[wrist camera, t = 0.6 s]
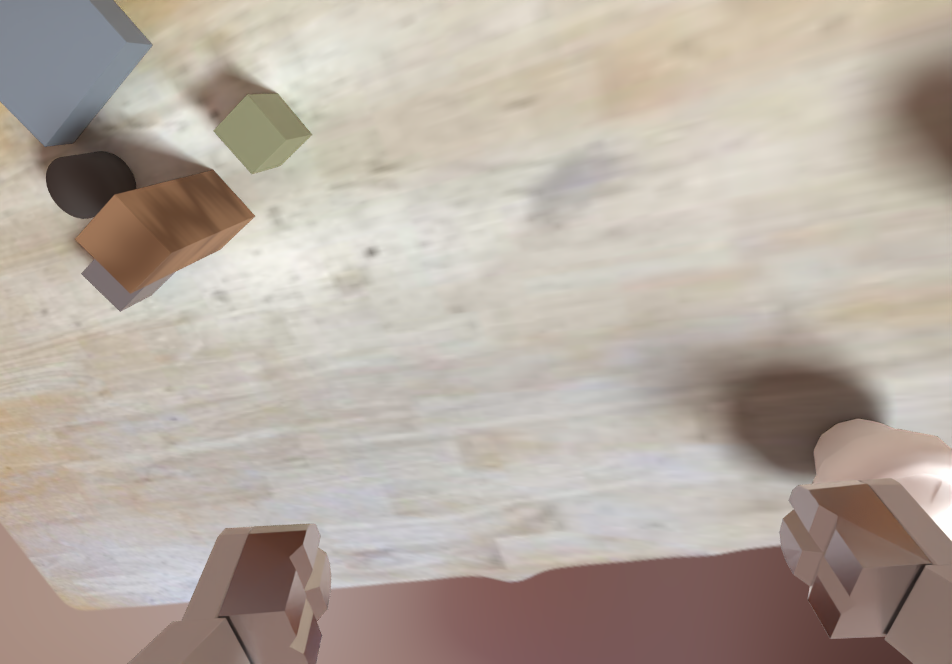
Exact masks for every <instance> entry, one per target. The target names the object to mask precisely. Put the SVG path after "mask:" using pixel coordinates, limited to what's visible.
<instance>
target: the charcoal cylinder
mask: <svg viewBox="0 0 952 664" xmlns="http://www.w3.org/2000/svg"><path fill="white" fill-rule="evenodd" d="M46 183H47V187H48V191H49V193H50V195H51V197H52V199H53V200H54V201H55V203H56V204H57V205H58V206H59V207H60V208H61V209H62V210H63V211H65V212H66V213H68V214H69V215H71V216H74V217H77V218H82V219H87V218H91V217H95V216H96V215H97V214H98V213H99V212H100V210H101V209H102V208H103V207H104V206H105V205H106V204H107V203H108V201H109V200H110V199H111V198H112V197H113V196H114V195H115V194H119V193H123V192H127V191H131V190H135V189H136V182H135V179H134V176H133V174H132V172H131V170H130V168H129V167H128V166H127V165H126V163H125V162H124V161H123V160H121V159H120V158H119V157H117V156H115V155H114V154H111V153H108V152H94V153H87V154H80V155H73V156H66V157H60V158H57V159H55V160H54V161H53V162H52V163H51V164H50V165H49V167H48V169H47V173H46Z"/></svg>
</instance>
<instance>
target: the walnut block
mask: <svg viewBox="0 0 952 664" xmlns="http://www.w3.org/2000/svg"><path fill="white" fill-rule="evenodd" d="M254 217H255V215H254V214H253V213H252V212H251V211H250V210H249V209H248V208H247V206H246V205H245V204H244V203H243V202H242V201H241V200H240V199H239V198H238V197H237V195H236V194H235V193H234V192H233V191H232V190H231V189H230V188H229V187H228V186H227V184H226V183H225V182H224V181H223V180H222V179H221V178H220V177H219V176H218V174H217V173H216V172H215V171H214V170H211V171H207V172H203V173H199V174H195V175H191V176H187V177H183V178H179V179H175V180H171V181H167V182H163V183H159V184H155V185H151V186H147V187H143V188H139V189H135V190H131V191H127V192H123V193H119V194H115V195H114V196H113V197H112V198H111V199H110V200H109V201H108V203H107V204H106V205H105V206H104V207H103V208H102V209H101V210H100V212H99V213H98V214H97V215H96V216H95V217H94V218H93V219H92V221H91V222H90V223H89V224H88V225H87V226H86V227H85V228H84V230H83V231H82V232H81V233H80V234H79V235H78V236H77V238H76V239H75V240H76V241H77V242H78V243H79V244H80V245H81V246H82V247H83V248H84V249H85V250H86V251H87V252H88V253H89V254H90V255H91V256H92V257H93V258H94V259H95V260H96V261H97V262H99V263H100V264H101V265H102V266H103V267H104V268H105V269H106V270H107V271H108V272H109V273H110V274H111V275H112V276H113V277H114V278H115V279H116V280H117V281H118V282H119V283H120V284H121V285H122V286H123V287H124V288H125V289H126V290H127V291H128V292H129V293H130V294H131V293H133V292H135V291H137V290H139V289H141V288H143V287H145V286H147V285H149V284H151V283H153V282H155V281H157V280H160V279H162V278H164V277H166V276H168V275H170V274H172V273H174V272H176V271H178V270H180V269H182V268H184V267H186V266H188V265H190V264H192V263H194V262H196V261H198V260H200V259H202V258H204V257H206V256H208V255H210V254H212V253H214V252H216V251H218V250H220V249H221V248H222V247H223V246H224V245H226V244H227V243H228V242H229V241H230V240H231V239H232V238H233V237H234V236H235V235H236V234H237V233H238V232H239V231H240V230H241V229H242V228H243V227H244V226H245V225H246V224H247V223H249V222H250V221H251V220H252V219H253V218H254Z"/></svg>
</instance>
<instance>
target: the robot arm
mask: <svg viewBox="0 0 952 664" xmlns="http://www.w3.org/2000/svg"><path fill="white" fill-rule="evenodd" d="M789 502H790V504H791V505H792V507H793V508H794V510H793V511H791V512H790V513H789V514H788V515H786V516H785V517H784V518H783V520H782V524H781V528H780V541H781V548H782V551H783V554H784V557H785V560H786V562H787V564H788V565H789V567H790V569H791V571H792V573H793V575H795V576H796V577H798V578H799V579H800V580H802V581H803V582H804V583H806V584H807V585H809V586H810V589H809V595H808V601H809V603H810V604H811V606H812V608H813V610H814V612H815V613H816V615H817V617H818V618H819V620H820V622H821V624H822V625H823V627H824V629H825V631H826V632H827V634H828V636H829V638H830V639H839V638H861V637H881V636H882V637H883V636H886V637H885V640H886V641H887V642H888V643H890V644H891V645H892V646H893V647H894V648H896V649H897V650H898V651H899V652H900V653H901V654H903V655H904V656H905V657H906V658H908V659H909V660H910V661H911V662H912V663H914V664H952V541H951V540H950V539H949V537H948V536H947V535H946V534H945V533H944V532H943V531H942V530H941V528H940V527H939V526H938V525H937V524H936V523H935V522H934V521H933V519H932V518H931V517H930V516H929V515H928V514H927V513H926V512H925V510H924V509H923V508H922V507H921V506H920V505H919V504H918V503H917V501H916V500H915V499H914V498H913V497H912V496H911V495H910V494H909V492H908V491H907V490H906V489H905V488H904V487H903V486H902V485H901V484H900V483H899V482H897V481H896V480H894V479H892V478H882V479H869V480H859V481H856V480H849V481H838V482H827V483H816V484H805V485H798V486H796V487H795V488H794V489H793V490H792V492H791V495H790V498H789ZM320 537H321V536H320V533H319V531H318V528H317V526H316V524H293V525H273V526H254V527H239V528H225V529H224V531H223V532H222V533H221V534H220V535H219V536H218V538H217V540H216V542H215V544H214V547H213V549H212V551H211V554H210V556H209V558H208V561H207V563H206V565H205V568H204V570H203V572H202V575H201V577H200V579H199V582H198V584H197V586H196V589H195V591H194V593H193V595H192V598H191V600H190V602H189V605H188V607H187V609H186V612H185V614H184V617H183V619H182V621H173V622H172V623H170V625H168V626H167V627H166V628H165V629H164V630H163V631H162V632H161V633H160V634H159V635H158V636H157V637H155V638H154V639H153V640H152V641H151V642H150V643H149V644H148V645H147V646H146V647H145V648H144V649H143V650H141V651H140V652H139V653H138V654H137V655H136V656H135V657H134V658H133V659H132V660H131V661H130V662H129V663H127V664H316V662H317V657H318V652H319V648H320V643H321V638H322V634H321V631H320V629H319V626H318V624H317V621H318V620H319V618H320V617H321V616H322V615H323V614H324V613H325V611H326V610H327V609H328V603H329V598H330V592H331V569H330V562H329V559H328V556H327V553H326V552H324V551H323V550H321V549H320V548H318V546H319V542H320Z"/></svg>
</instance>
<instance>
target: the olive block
mask: <svg viewBox="0 0 952 664" xmlns="http://www.w3.org/2000/svg"><path fill="white" fill-rule="evenodd" d="M214 132H215V133H216V135H217V136H218V137H219V138H220V139H221V140H222V141H223V142H224V144H225V145H226V146H227V147H228V148H229V149H230V150H231V151H232V153H233V154H234V155H235V156H236V157H237V158H238V159H239V160H240V162H241V163H242V164H243V165H244V166H245V167H246V168H247V169H248V171H249V172H250V173H251V174H255V173H258V172H261V171H265V170H268V169H272V168H275V167H278V166H281V165H282V164H283V163H284V162H285V161H286V160H287V159H288V158H289V157H290V156H291V155H292V154H293V153H294V152H295V151H296V150H297V149H298V148H299V147H300V146H301V145H302V144H303V143H304V142H305V141H306V140H307V139H308V138H309V137H310V136H311V135H312V134H311V133H310V131H309V130H308V129H307V128H306V127H305V125H304V124H303V123H302V122H301V121H300V119H299V118H298V117H297V116H296V115H295V114H294V112H293V111H292V110H291V109H290V108H289V106H288V105H287V104H286V103H285V102H284V100H283V99H282V98H281V97H280V96H279V94H278V93H277V94H247V95H246V96H245V97H244V98H243V99H242V101H241V102H240V103H239V104H238V105H237V106H236V107H235V108H234V109H233V110H232V111H231V112H230V113H229V115H228V116H227V117H226V118H225V119H224V120H223V121H222V122H221V123H220V124H219V125H218V126H217V127H216V129H215V130H214Z"/></svg>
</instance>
